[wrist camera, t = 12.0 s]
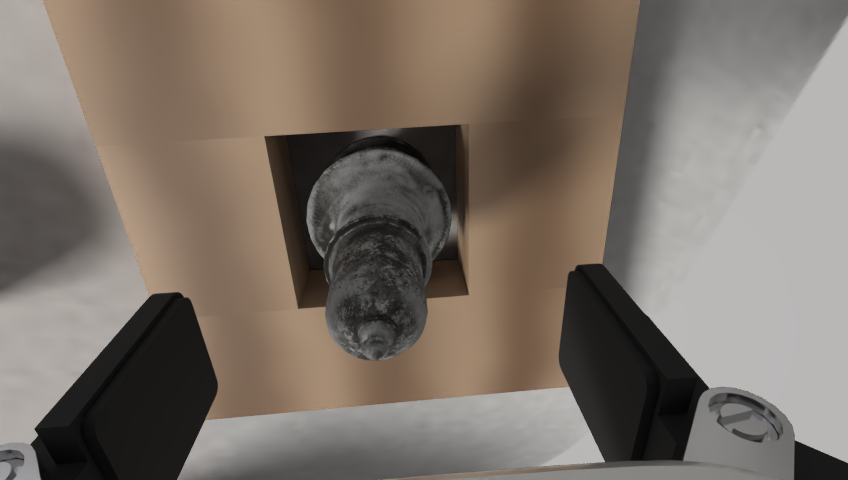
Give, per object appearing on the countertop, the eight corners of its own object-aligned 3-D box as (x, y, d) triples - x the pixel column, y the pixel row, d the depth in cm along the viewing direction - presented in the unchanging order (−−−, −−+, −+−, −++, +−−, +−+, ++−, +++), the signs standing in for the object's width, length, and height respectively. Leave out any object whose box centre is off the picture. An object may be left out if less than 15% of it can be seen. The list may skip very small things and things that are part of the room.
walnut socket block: (603, -56, 18) (651, -74, 15) (560, 342, 26) (584, 385, 23) (92, -36, 17) (24, -51, 14) (218, 371, 25) (194, 421, 22)
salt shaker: (465, 169, 21) (546, 316, 10) (403, 265, 23) (418, 472, 12) (354, 105, 20) (315, 199, 9) (297, 213, 22) (208, 400, 11)
